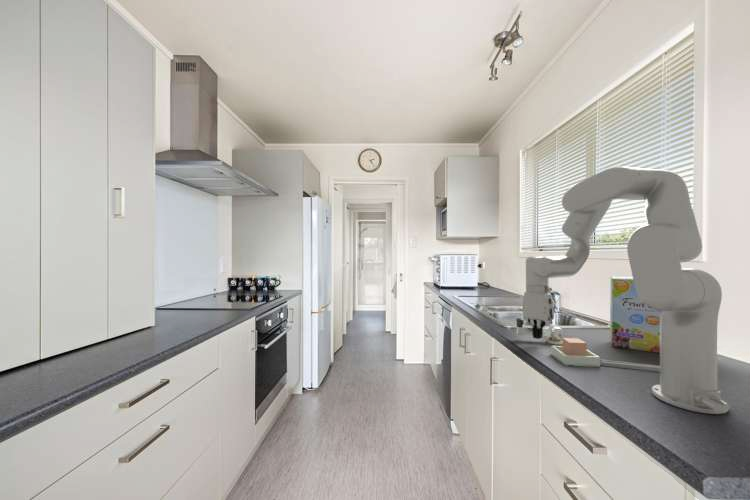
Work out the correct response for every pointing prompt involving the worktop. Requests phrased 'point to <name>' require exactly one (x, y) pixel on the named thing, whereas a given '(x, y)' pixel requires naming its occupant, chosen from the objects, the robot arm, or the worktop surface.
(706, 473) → the worktop surface
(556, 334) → the crank
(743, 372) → the worktop surface
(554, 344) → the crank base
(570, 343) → the block
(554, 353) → the tray
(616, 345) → the snack box
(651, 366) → the adjustable wrench
